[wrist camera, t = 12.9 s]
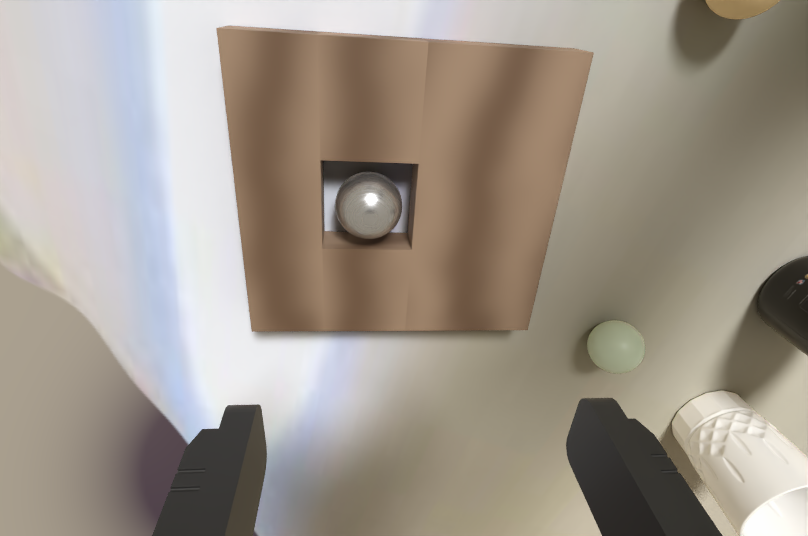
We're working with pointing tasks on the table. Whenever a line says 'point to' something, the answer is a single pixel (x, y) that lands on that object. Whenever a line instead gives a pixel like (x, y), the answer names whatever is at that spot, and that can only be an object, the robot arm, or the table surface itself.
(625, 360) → the sage ball
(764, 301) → the supplement bottle
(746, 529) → the white cup
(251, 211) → the hole plate
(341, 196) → the steel ball
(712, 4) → the ochre ball
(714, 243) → the table surface
